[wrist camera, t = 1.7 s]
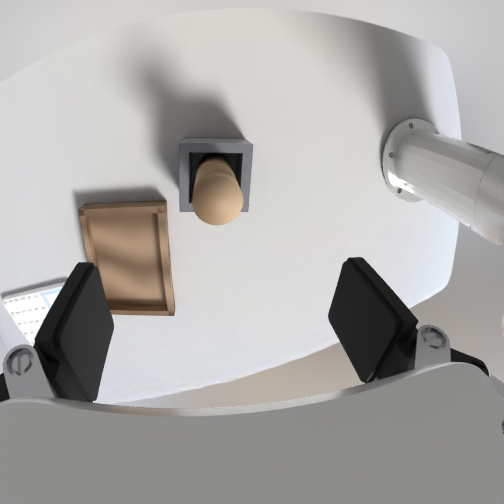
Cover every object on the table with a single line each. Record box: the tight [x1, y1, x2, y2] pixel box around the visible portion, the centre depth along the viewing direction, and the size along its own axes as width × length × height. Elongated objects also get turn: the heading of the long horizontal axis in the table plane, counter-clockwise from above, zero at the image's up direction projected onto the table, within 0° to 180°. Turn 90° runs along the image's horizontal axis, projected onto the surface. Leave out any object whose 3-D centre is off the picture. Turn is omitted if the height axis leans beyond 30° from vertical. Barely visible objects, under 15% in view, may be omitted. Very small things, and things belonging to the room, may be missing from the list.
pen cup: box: [179, 138, 253, 212], centre depth 27 cm, size 7×7×6 cm
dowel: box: [192, 153, 243, 225], centre depth 24 cm, size 4×4×12 cm
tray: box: [78, 201, 175, 316], centre depth 33 cm, size 16×11×2 cm
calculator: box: [3, 281, 66, 346], centre depth 36 cm, size 13×20×2 cm, turn 98°
